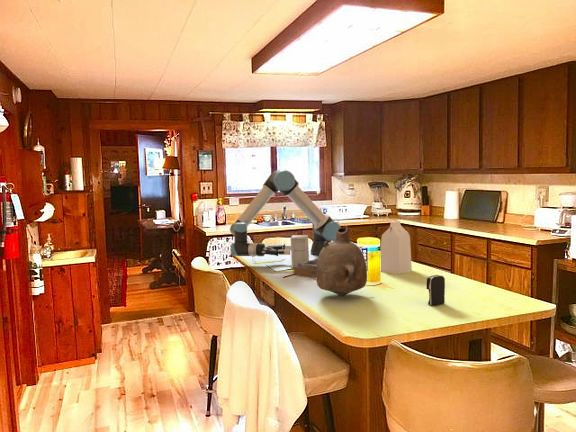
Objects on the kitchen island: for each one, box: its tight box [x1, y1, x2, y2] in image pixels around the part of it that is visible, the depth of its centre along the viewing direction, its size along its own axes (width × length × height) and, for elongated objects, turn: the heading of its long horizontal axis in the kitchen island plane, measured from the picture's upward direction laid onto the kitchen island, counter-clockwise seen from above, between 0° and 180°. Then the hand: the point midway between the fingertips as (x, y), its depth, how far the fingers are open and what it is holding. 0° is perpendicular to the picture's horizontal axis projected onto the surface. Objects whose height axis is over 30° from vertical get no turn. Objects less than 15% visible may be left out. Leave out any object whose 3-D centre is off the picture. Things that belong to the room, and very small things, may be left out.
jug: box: [315, 226, 368, 297], centre depth 203 cm, size 24×21×30 cm
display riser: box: [293, 258, 318, 279], centre depth 249 cm, size 20×20×6 cm
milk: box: [380, 220, 413, 275], centre depth 248 cm, size 12×12×26 cm
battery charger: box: [426, 274, 446, 307], centre depth 188 cm, size 7×4×11 cm, turn 117°
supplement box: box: [290, 234, 310, 267], centre depth 270 cm, size 10×9×17 cm
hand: (293, 250), depth 270 cm, fingers open, 13 cm apart
